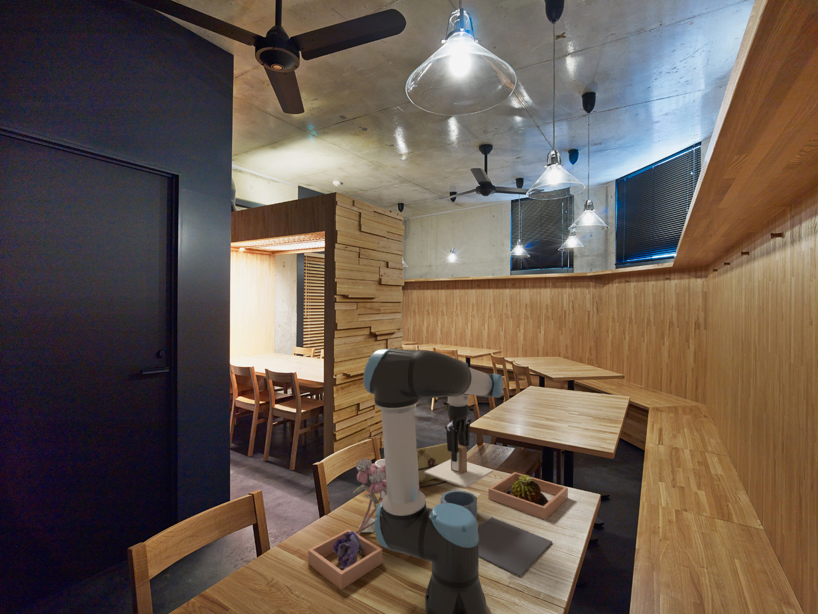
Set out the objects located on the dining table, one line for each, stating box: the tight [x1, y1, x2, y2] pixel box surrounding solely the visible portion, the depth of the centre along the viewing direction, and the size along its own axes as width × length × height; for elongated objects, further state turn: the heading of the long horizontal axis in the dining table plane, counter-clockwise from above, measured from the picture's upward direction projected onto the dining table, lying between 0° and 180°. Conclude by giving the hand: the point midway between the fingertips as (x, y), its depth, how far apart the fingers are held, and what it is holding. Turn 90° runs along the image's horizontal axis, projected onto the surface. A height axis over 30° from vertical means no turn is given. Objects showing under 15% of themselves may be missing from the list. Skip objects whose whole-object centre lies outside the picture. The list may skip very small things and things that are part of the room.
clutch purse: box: [417, 442, 451, 489], centre depth 168 cm, size 30×7×15 cm, turn 120°
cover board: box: [424, 443, 494, 489], centre depth 140 cm, size 18×18×10 cm
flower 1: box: [333, 530, 364, 570], centre depth 114 cm, size 9×9×10 cm
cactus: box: [505, 474, 549, 506], centre depth 151 cm, size 17×16×10 cm
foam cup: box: [374, 458, 386, 499], centre depth 156 cm, size 10×9×13 cm
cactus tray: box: [487, 471, 569, 520], centre depth 152 cm, size 22×23×4 cm
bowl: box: [440, 489, 478, 520], centre depth 140 cm, size 13×13×6 cm
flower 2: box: [352, 456, 387, 535], centre depth 129 cm, size 20×22×25 cm
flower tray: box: [307, 528, 383, 590], centre depth 113 cm, size 15×16×4 cm
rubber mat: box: [478, 516, 553, 578], centre depth 122 cm, size 22×22×1 cm
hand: (458, 468), depth 140 cm, fingers closed on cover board, 3 cm apart
